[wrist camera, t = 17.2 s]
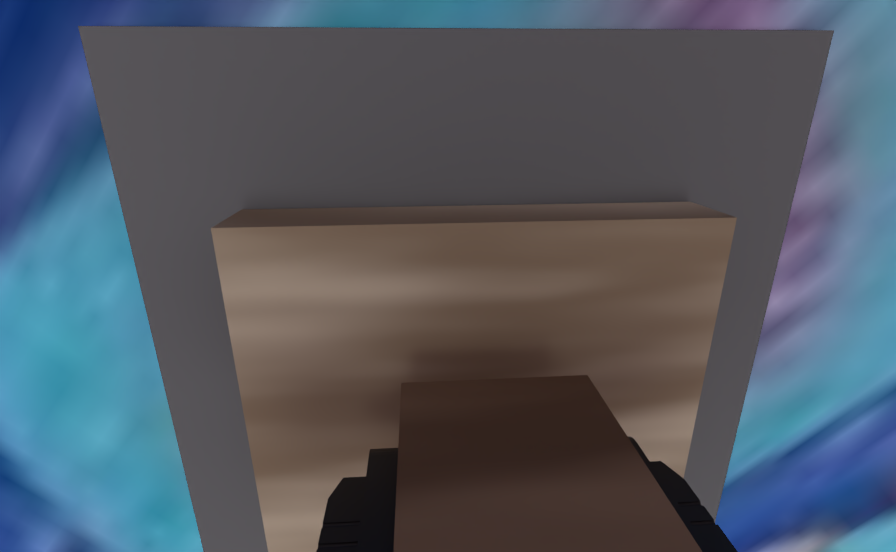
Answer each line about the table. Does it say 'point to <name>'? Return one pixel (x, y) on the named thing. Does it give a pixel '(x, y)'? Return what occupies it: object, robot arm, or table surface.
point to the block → (524, 472)
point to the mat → (436, 174)
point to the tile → (457, 324)
